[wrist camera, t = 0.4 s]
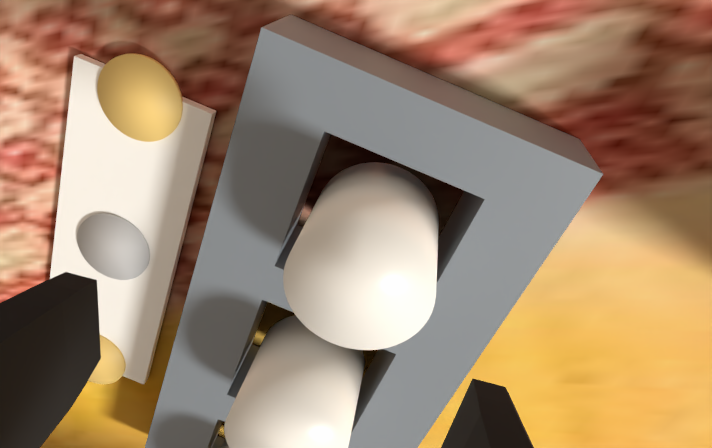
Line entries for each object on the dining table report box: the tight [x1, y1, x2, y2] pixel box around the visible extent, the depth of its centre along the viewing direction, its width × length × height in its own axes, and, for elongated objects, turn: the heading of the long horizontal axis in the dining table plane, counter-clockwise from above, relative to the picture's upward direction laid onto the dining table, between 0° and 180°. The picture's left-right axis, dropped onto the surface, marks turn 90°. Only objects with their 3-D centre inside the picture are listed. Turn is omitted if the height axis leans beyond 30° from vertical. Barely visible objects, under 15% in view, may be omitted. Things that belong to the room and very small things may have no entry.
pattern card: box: [50, 53, 217, 384], centre depth 22 cm, size 16×5×1 cm, turn 159°
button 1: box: [283, 162, 439, 350], centre depth 16 cm, size 4×4×4 cm
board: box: [145, 15, 603, 448], centre depth 21 cm, size 10×22×3 cm, turn 159°
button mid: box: [224, 315, 365, 448], centre depth 19 cm, size 4×4×4 cm
